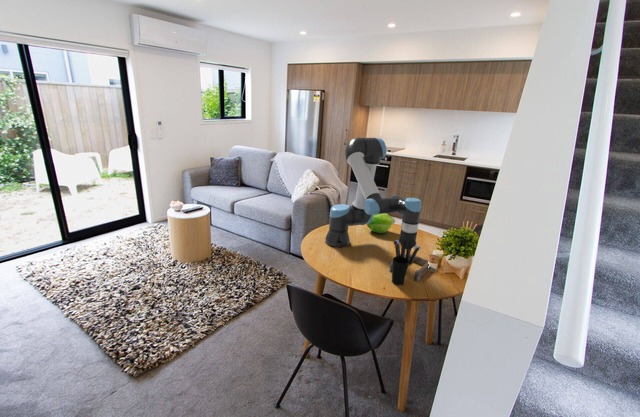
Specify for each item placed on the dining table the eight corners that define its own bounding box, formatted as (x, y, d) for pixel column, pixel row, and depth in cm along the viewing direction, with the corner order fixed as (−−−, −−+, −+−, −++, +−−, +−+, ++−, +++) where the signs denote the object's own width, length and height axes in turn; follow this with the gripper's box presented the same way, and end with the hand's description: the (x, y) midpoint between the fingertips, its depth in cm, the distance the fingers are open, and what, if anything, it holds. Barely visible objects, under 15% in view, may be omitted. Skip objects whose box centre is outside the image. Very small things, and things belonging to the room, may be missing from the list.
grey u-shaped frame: (389, 271, 160) (390, 262, 159) (405, 258, 176) (406, 250, 174) (417, 281, 152) (419, 272, 150) (431, 267, 167) (433, 258, 166)
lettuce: (398, 235, 209) (399, 218, 201) (369, 239, 207) (369, 222, 200) (390, 222, 221) (392, 206, 214) (363, 226, 219) (363, 210, 212)
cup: (403, 288, 145) (406, 265, 142) (387, 283, 149) (390, 260, 145) (407, 281, 152) (411, 259, 148) (392, 276, 155) (395, 254, 152)
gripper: (392, 228, 148) (387, 272, 155) (419, 236, 140) (412, 282, 147) (399, 224, 153) (393, 267, 161) (425, 232, 146) (417, 276, 153)
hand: (402, 274), depth 154 cm, fingers closed
